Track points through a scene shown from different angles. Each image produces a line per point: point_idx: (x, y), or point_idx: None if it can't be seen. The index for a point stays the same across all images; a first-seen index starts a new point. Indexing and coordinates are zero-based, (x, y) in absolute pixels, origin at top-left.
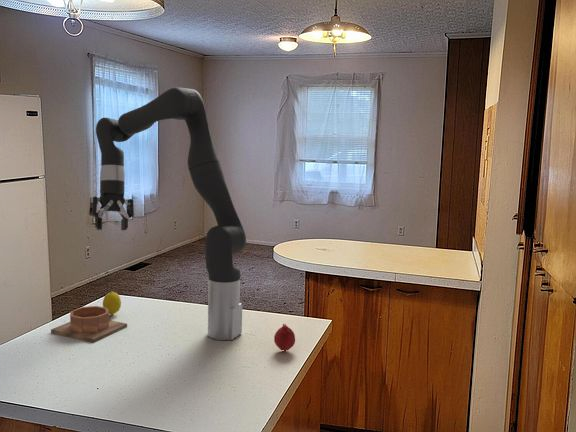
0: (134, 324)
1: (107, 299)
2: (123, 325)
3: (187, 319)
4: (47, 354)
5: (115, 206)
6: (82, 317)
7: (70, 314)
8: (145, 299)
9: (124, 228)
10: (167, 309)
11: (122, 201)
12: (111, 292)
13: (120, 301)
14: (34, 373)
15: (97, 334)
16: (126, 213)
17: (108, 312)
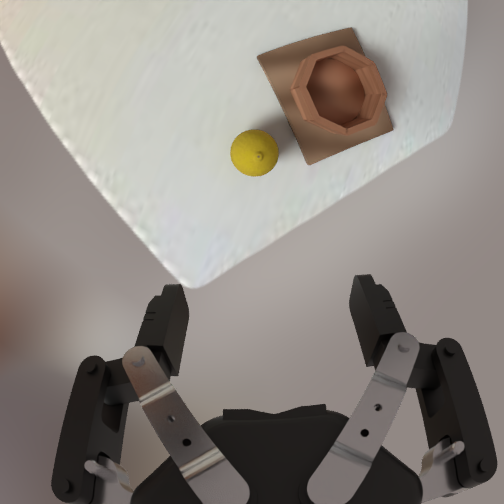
0: (235, 61)
1: (274, 143)
2: (269, 51)
3: (118, 35)
4: (419, 45)
5: (255, 452)
6: (371, 67)
7: (383, 103)
8: (135, 221)
9: (178, 289)
10: (119, 120)
11: (163, 501)
12: (261, 152)
13: (236, 139)
14: (441, 9)
15: (337, 41)
16: (137, 385)
17: (311, 55)
